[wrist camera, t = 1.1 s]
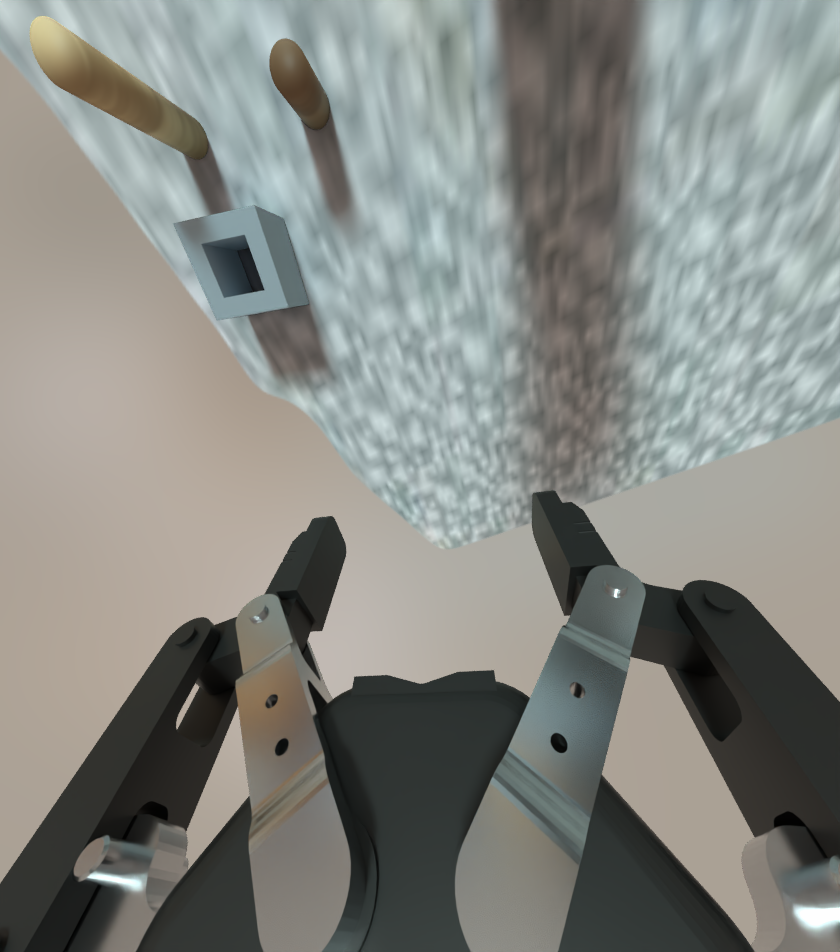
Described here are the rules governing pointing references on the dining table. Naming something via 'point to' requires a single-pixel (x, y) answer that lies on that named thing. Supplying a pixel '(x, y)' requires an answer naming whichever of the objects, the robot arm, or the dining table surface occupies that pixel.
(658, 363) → the dining table surface
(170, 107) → the long dowel
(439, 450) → the dining table surface
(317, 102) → the short dowel
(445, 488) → the dining table surface
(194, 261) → the hole block
